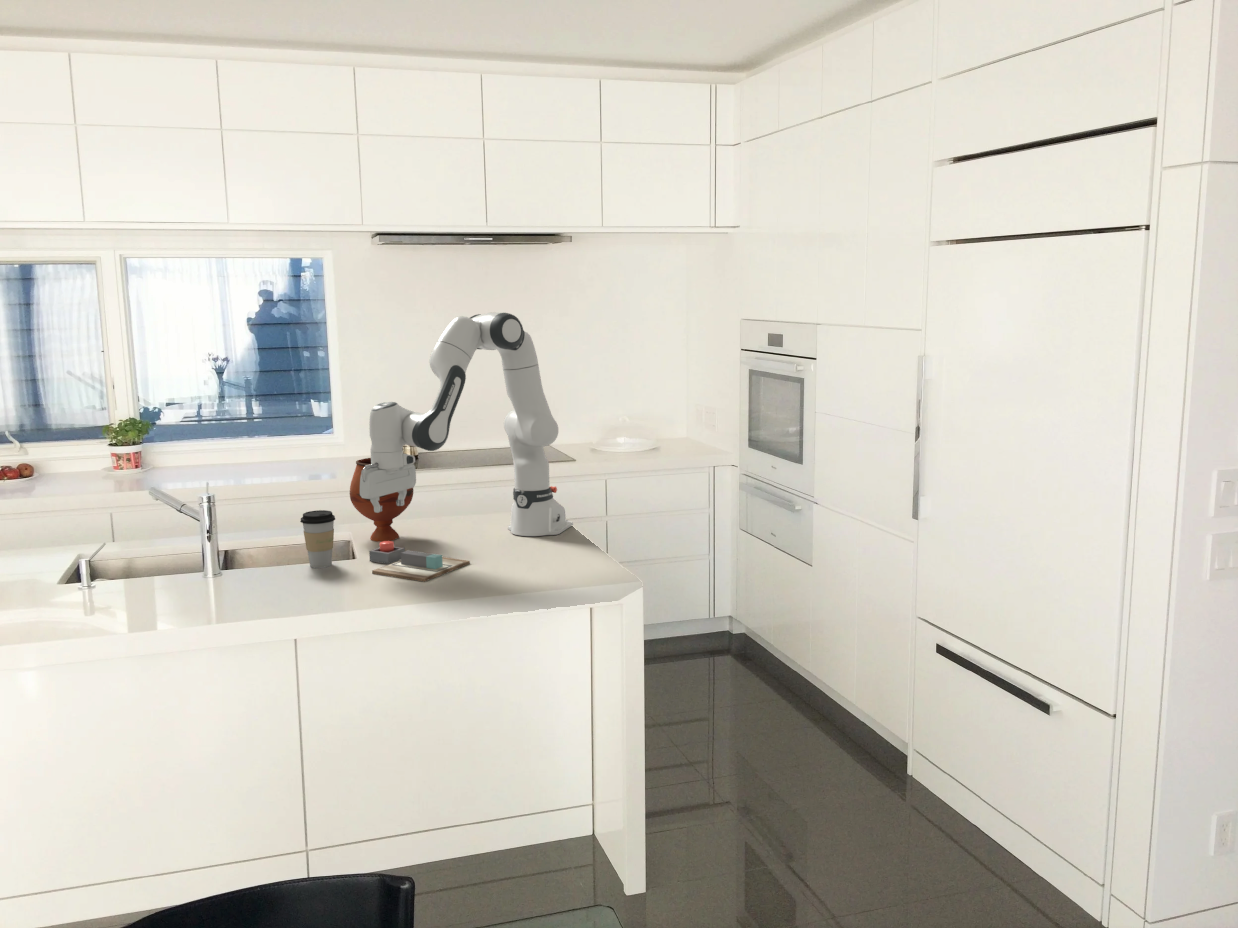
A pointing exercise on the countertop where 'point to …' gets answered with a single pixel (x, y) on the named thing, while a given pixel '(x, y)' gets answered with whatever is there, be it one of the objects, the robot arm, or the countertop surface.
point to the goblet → (387, 502)
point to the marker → (421, 559)
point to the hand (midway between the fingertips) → (389, 508)
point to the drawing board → (420, 570)
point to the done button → (386, 546)
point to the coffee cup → (319, 537)
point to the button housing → (386, 555)
